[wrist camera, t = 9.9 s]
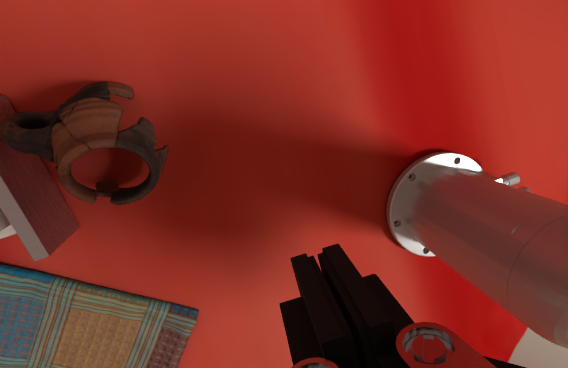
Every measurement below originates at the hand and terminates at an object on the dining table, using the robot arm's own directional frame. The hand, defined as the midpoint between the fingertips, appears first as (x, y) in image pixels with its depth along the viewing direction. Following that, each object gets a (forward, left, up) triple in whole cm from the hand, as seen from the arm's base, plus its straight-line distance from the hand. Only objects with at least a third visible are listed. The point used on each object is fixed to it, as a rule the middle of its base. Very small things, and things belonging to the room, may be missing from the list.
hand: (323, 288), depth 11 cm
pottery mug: (+13, -6, -25) cm, 28 cm away
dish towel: (+26, +14, -25) cm, 38 cm away
